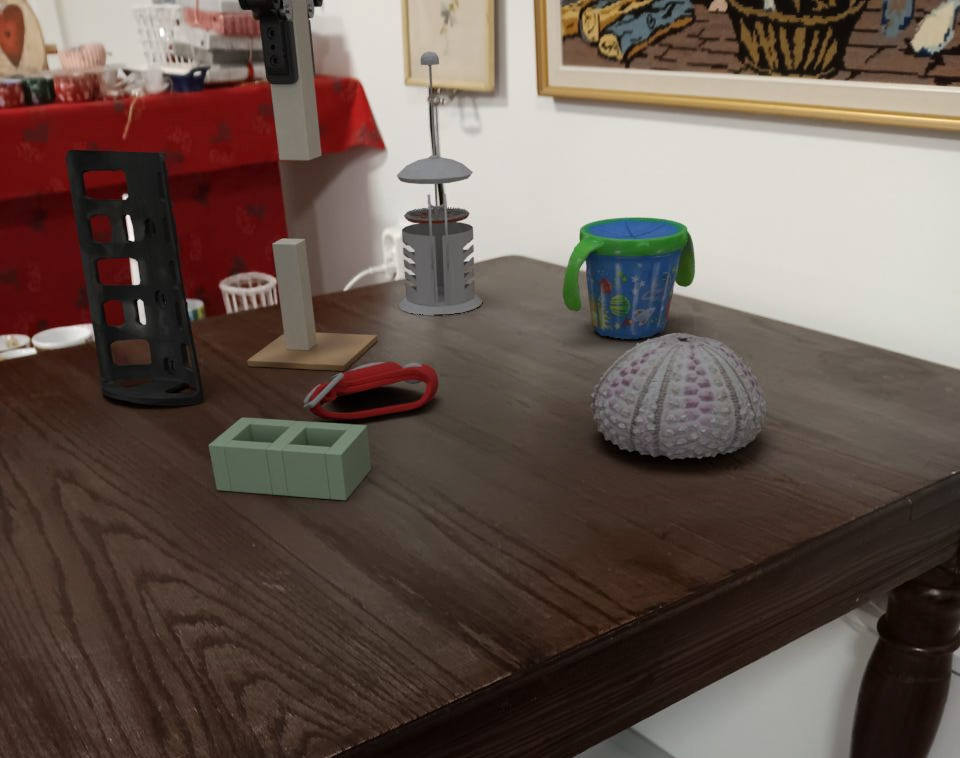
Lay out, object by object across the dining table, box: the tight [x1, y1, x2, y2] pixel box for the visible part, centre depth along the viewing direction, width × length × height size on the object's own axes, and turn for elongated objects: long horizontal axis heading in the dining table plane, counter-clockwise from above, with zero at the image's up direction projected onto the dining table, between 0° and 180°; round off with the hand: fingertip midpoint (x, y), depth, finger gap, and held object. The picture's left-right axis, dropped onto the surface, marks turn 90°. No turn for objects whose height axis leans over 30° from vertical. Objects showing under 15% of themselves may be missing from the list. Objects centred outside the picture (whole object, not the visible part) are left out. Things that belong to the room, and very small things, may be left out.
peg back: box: [271, 238, 317, 350], centre depth 97 cm, size 2×2×10 cm
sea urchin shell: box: [589, 332, 768, 461], centre depth 76 cm, size 13×14×8 cm
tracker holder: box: [302, 361, 439, 421], centre depth 85 cm, size 12×4×10 cm
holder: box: [65, 149, 205, 407], centre depth 86 cm, size 11×8×20 cm
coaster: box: [246, 332, 378, 372], centre depth 99 cm, size 10×10×1 cm
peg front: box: [269, 0, 322, 162], centre depth 71 cm, size 2×2×10 cm
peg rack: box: [208, 416, 372, 501], centre depth 72 cm, size 10×6×4 cm, turn 77°
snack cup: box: [562, 216, 696, 340], centre depth 100 cm, size 16×10×10 cm
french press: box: [396, 51, 483, 316], centre depth 106 cm, size 10×12×25 cm
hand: (291, 80), depth 71 cm, fingers closed on peg front, 2 cm apart
